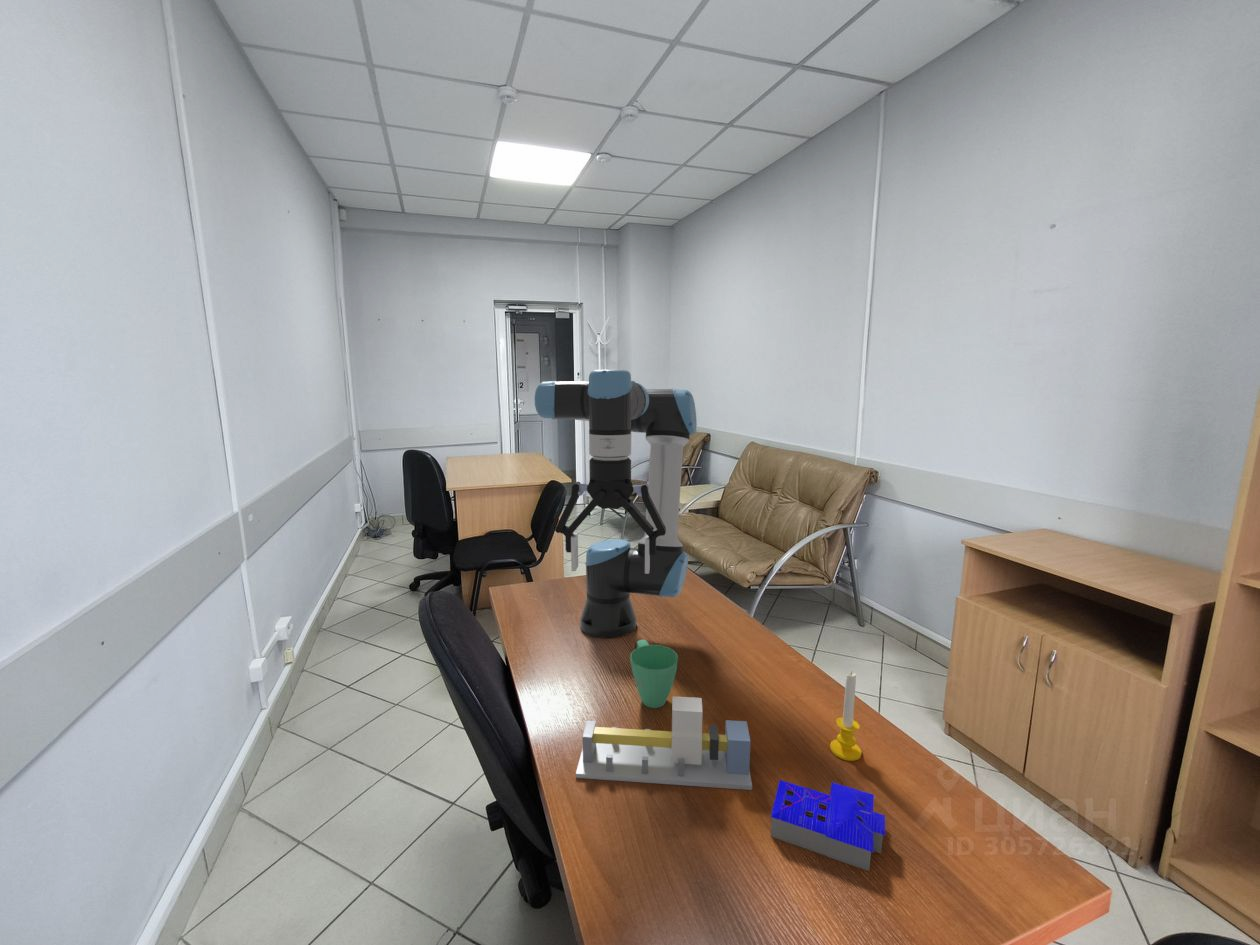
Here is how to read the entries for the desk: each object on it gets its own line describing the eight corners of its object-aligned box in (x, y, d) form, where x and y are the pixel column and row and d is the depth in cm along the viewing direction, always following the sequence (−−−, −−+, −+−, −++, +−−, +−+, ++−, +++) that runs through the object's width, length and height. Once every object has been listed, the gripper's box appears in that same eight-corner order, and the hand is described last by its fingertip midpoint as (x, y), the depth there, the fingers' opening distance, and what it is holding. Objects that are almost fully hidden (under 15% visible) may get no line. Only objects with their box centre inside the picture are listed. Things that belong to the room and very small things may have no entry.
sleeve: (671, 762, 89) (672, 712, 88) (671, 742, 94) (672, 694, 92) (701, 764, 89) (702, 713, 87) (700, 744, 94) (701, 696, 92)
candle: (826, 753, 94) (832, 673, 92) (834, 737, 99) (839, 660, 96) (857, 765, 91) (864, 682, 89) (864, 748, 96) (870, 669, 93)
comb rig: (575, 777, 88) (575, 740, 87) (586, 738, 98) (585, 703, 97) (752, 790, 86) (753, 751, 85) (744, 748, 96) (746, 713, 94)
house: (883, 879, 71) (886, 845, 70) (769, 839, 77) (771, 807, 76) (882, 818, 81) (885, 787, 80) (781, 787, 87) (783, 758, 86)
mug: (685, 710, 107) (686, 664, 105) (639, 719, 104) (639, 672, 102) (659, 672, 120) (659, 631, 119) (617, 680, 117) (617, 638, 116)
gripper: (536, 459, 92) (540, 574, 96) (679, 461, 90) (677, 579, 94) (547, 453, 100) (550, 561, 103) (679, 455, 97) (678, 565, 101)
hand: (610, 570), depth 99 cm, fingers open, 13 cm apart
